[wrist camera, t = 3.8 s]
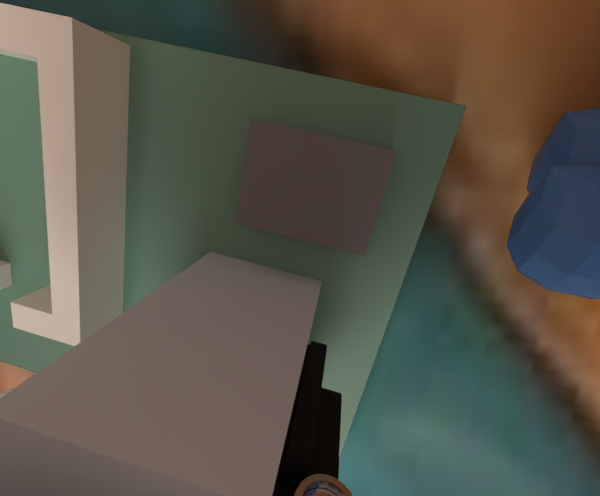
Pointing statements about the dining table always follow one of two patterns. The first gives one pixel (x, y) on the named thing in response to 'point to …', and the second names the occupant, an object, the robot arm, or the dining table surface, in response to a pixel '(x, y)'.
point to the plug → (168, 392)
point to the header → (75, 170)
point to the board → (243, 190)
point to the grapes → (563, 210)
